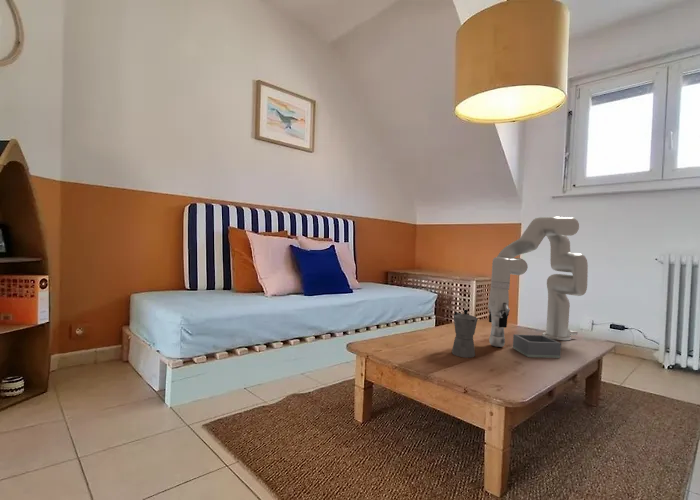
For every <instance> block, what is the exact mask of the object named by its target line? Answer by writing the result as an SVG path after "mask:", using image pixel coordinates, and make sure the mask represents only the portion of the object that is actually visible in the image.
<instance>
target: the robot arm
mask: <svg viewBox="0 0 700 500" xmlns="http://www.w3.org/2000/svg"><path fill="white" fill-rule="evenodd" d="M579 229H580V223H579V221H578V219H576V217H573V216H571V217H570V216H569V217H568V216H567V217H566V216H565V217H563V216H561V217H560V216H545V217H544V216H543V217H542V216H540V217H535V218H534V219H532V220H531V222H530V223H529V225H528V226H527V227H526V229H525V230H524V232H523V233H522V234H521V236H520V238H518V239H516V240H514V241H512V242H511V243H510V244H508V245H506V246H505V247H503V249H500V251H499V253H498V254H497V256H496V257H493V259H492V263H491V264H492V266H491V268H492V269H491V279H490V291H489V296H488V297H489V298H488V305H487V308H488V312H489V313H488V322H489V323H492V320H491V311H494V312H499V314H500V317H501V318H499V327H504V329H505V328H507V327H508V318H509V315H510V310H511V309H510V308H509V304H510V297H509V296H510V294H509V291H510V286H511V285H510V284H511V282H510V281H511V275H512V276H513V275H514V276H515V275H516V276H521V275H523V274H525V273H527V271H528V265H529V264H528V263H527V261H526V260H525V259H523V258H522V257H521V258H520V257H517V256H520V255H524V254H528V253H530V252H531V253H532V252H534V251H535V250H537V249H538V248H539V245H540V244H541V243H542V242H543V240H544V239H545V238H547V239H548V241H549V245H550V256H549V257H550V258H549V259H550V260H549V261H550V262H549V263H550V267H551V269H552V270H553V271H556V272H562V273H563V274H562V273H553V274H550V275H549V276H548V277H547V279H546V289H547V311H546V327H545V328H546V329H545V331H544V332H542V334H541V335H544V336H546V337H548V338H550V339H553V340H555V341H557V340H558V341H571V340H572V337H571V336H573V335H575V336H576V335H578V333H579V332H578V331H577V330H572V329H569V323H570V321H569V320H570V299H569V297H568V295H569V296H577V297H581V296H583V295H585V294H586V292H587V290H588V277H589V276H588V274H589V272H588V267H589V265H588V259H587V258H586V256H585V255H584V254H583V253H580V252H571V242H570V239H569V237H568V236H574V235H576V234H577V233H578V231H579ZM564 273H571V274H572V275H570V274H564ZM502 313H503V315H502Z"/></svg>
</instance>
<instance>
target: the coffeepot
mask: <svg viewBox="0 0 700 500" xmlns="http://www.w3.org/2000/svg"><path fill="white" fill-rule="evenodd" d="M468 311H469V310H468V309H465V308H464V309H463V313H462V312H461V313H460V312H458V311H456V312H454V314H453V323H454V324H453V326H454V332H455V337H454V341H453V345H452V350H451V353H452V355H453V356H456V357H460V358H466V359H467V358H468V359H471V358H474V357H475V356H476V350H475V343H474V342H475V341H474V335H475V333H476V328H477V322H478V318H477V316H473V315H471V314H468Z"/></svg>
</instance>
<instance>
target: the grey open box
mask: <svg viewBox="0 0 700 500" xmlns="http://www.w3.org/2000/svg"><path fill="white" fill-rule="evenodd" d="M512 337H513V338H512V349H514V350H515V351H517V352H519V353H520V354H523V355H524V356H526V357H527V358H545V359H546V358H549V359H550V358H551V359H561V350H562V348H561V347H562V343H561V342H559V341H557V340H556V339H550V338H548V337H546V336H544V335H542V334H541V335H540V334H514V333H513V335H512Z"/></svg>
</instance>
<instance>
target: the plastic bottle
mask: <svg viewBox="0 0 700 500" xmlns="http://www.w3.org/2000/svg"><path fill="white" fill-rule="evenodd" d="M502 315H503V313H502ZM499 318H501V317H500V314H499V312H494V311H491V320H492V322H491V328H490V334H489V341H488V342H489V344H490V346H493V347H495V348H502V347H504V346H505V344H506V338H505V328H504V327H499Z"/></svg>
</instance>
